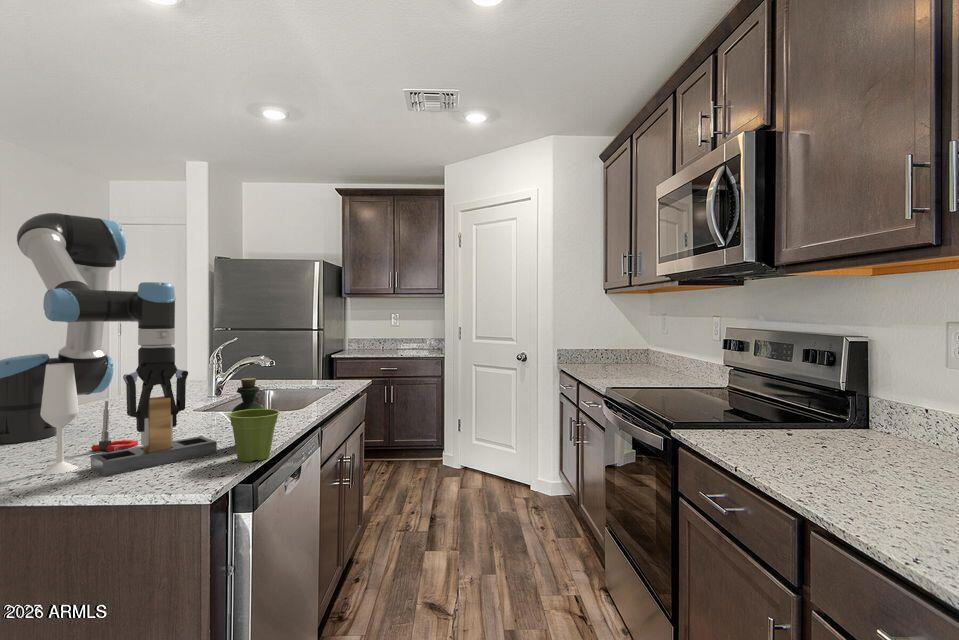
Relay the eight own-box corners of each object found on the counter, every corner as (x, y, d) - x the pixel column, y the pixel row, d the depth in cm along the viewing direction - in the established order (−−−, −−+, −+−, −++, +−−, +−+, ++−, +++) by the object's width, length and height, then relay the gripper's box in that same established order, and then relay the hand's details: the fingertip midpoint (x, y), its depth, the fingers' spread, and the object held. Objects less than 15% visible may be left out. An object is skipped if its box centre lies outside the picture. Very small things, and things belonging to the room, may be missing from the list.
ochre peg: (143, 456, 122) (143, 398, 122) (163, 452, 126) (163, 396, 126) (150, 459, 120) (150, 400, 120) (170, 455, 123) (170, 398, 123)
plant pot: (274, 464, 120) (274, 416, 120) (220, 466, 118) (220, 418, 118) (284, 450, 132) (284, 407, 132) (236, 452, 130) (236, 408, 130)
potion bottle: (224, 448, 134) (224, 380, 134) (243, 441, 142) (243, 376, 142) (253, 450, 133) (253, 381, 132) (270, 442, 141) (270, 377, 140)
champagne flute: (83, 464, 119) (83, 362, 119) (72, 473, 113) (71, 365, 113) (48, 467, 117) (48, 363, 116) (34, 476, 110) (34, 366, 110)
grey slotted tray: (90, 468, 116) (90, 455, 116) (201, 447, 135) (201, 436, 135) (103, 476, 111) (102, 462, 111) (216, 453, 129) (216, 441, 129)
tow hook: (118, 443, 140) (87, 451, 131) (120, 396, 141) (89, 400, 132) (145, 445, 139) (116, 452, 130) (147, 397, 139) (118, 401, 130)
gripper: (119, 348, 113) (119, 453, 114) (201, 345, 127) (201, 438, 127) (108, 347, 118) (108, 447, 118) (189, 344, 132) (189, 434, 132)
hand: (157, 442), depth 123 cm, fingers closed on ochre peg, 4 cm apart
